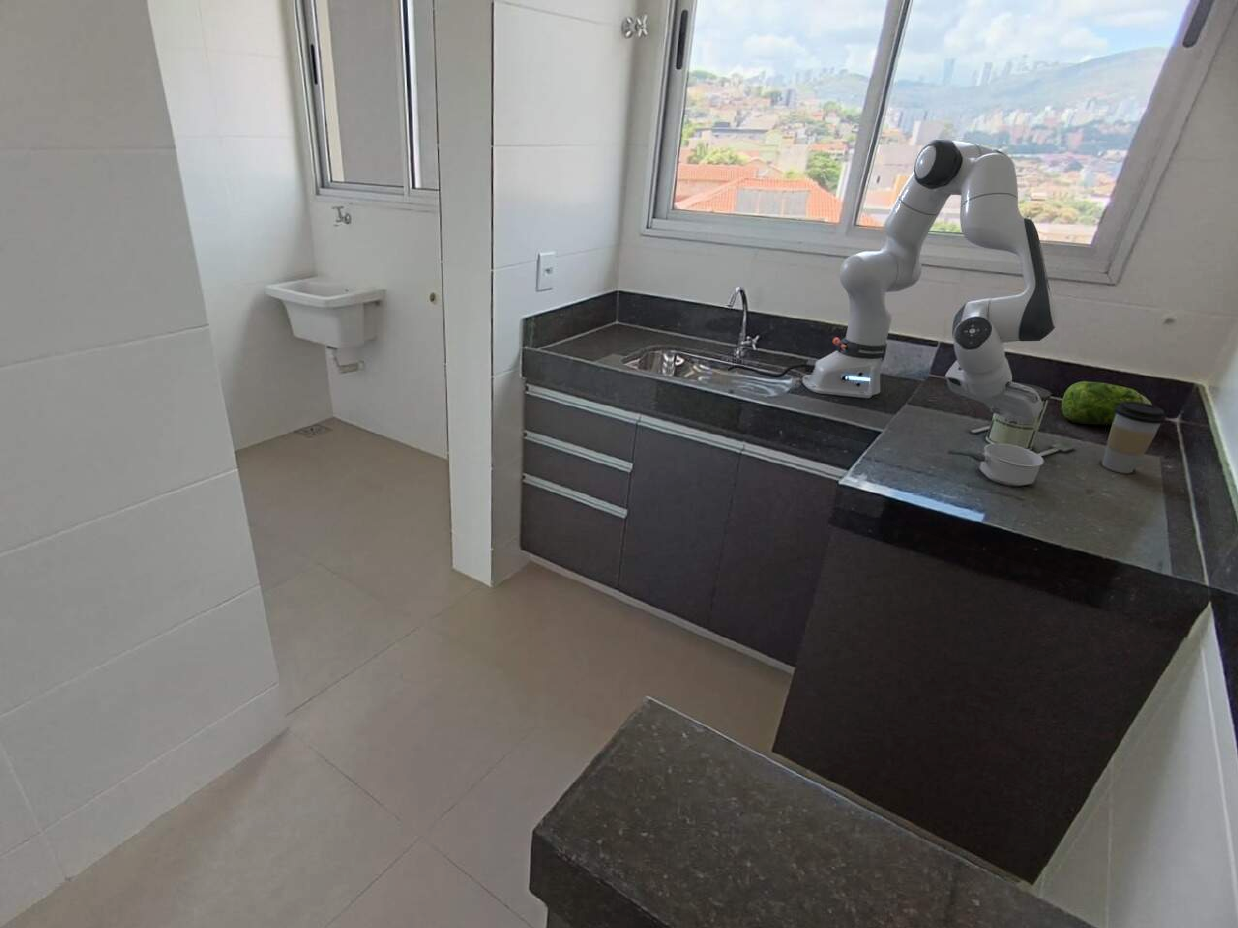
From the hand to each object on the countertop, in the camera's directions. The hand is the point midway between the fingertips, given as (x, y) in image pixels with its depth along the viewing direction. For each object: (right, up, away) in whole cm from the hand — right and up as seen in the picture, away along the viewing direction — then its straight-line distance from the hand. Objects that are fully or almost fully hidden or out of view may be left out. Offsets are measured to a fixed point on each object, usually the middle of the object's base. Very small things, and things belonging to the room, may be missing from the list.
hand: (999, 411), depth 153 cm
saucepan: (-8, -15, -9) cm, 19 cm away
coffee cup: (+27, -13, -1) cm, 30 cm away
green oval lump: (+42, -2, +25) cm, 49 cm away
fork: (+7, -3, +17) cm, 19 cm away
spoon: (+16, -9, +5) cm, 19 cm away
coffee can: (+7, -7, +9) cm, 14 cm away
